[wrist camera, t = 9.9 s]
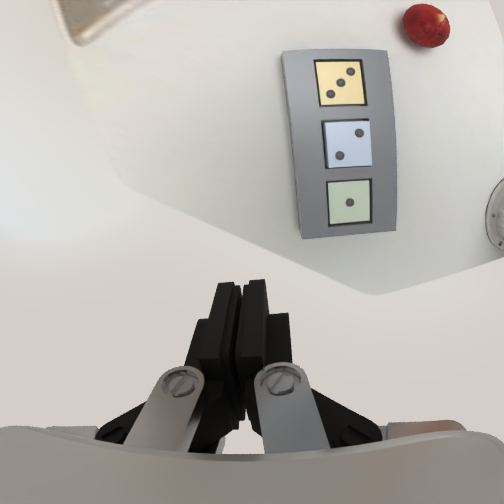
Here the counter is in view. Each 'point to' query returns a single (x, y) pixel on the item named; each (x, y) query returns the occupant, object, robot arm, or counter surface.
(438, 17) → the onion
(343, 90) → the tile three
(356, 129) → the tile two
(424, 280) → the counter surface
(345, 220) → the tile one
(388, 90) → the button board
